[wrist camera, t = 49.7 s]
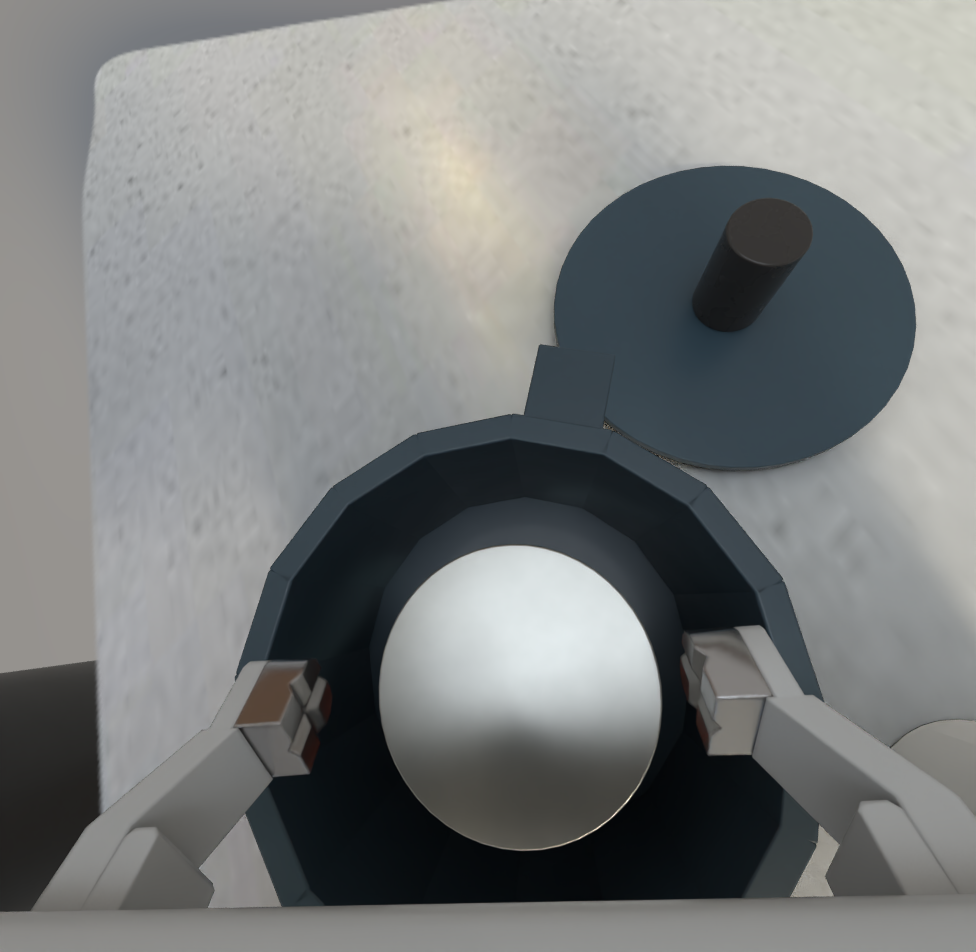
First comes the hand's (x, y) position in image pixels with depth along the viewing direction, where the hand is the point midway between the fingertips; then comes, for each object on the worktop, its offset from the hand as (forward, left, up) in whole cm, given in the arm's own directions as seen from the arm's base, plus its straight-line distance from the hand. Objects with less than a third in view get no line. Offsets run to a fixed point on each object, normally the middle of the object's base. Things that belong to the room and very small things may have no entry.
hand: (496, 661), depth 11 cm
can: (0, -1, -10) cm, 10 cm away
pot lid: (+6, +16, -10) cm, 20 cm away
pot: (0, -1, -10) cm, 10 cm away
